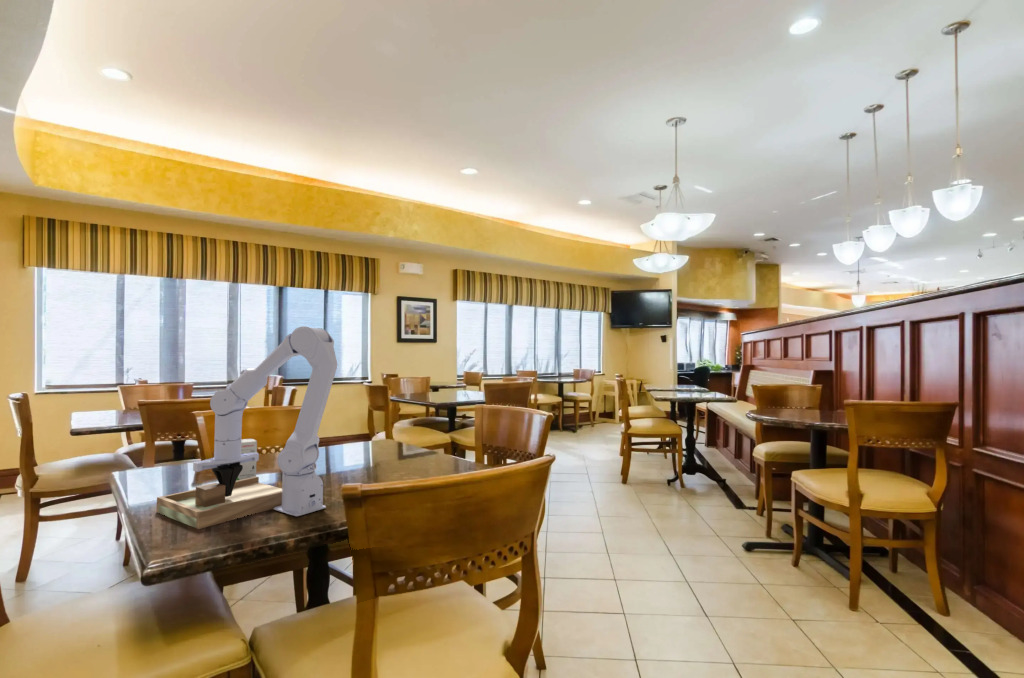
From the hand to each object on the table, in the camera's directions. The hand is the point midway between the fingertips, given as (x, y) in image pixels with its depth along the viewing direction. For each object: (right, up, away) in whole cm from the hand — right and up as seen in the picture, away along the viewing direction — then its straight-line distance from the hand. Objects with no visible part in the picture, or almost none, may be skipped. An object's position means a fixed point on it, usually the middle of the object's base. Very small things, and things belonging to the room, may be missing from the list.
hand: (226, 495), depth 119 cm
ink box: (-11, -4, +25) cm, 28 cm away
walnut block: (-2, -1, -3) cm, 4 cm away
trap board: (+1, -3, +1) cm, 3 cm away
